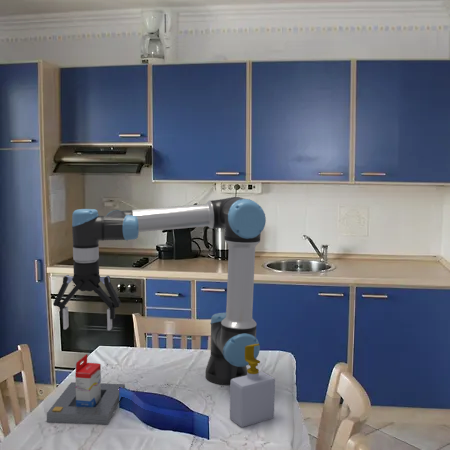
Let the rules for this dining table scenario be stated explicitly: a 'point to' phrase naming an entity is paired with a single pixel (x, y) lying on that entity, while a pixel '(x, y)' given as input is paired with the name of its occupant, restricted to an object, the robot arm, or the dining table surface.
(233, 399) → the soap bottle
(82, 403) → the ink box
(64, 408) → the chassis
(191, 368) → the dining table surface
